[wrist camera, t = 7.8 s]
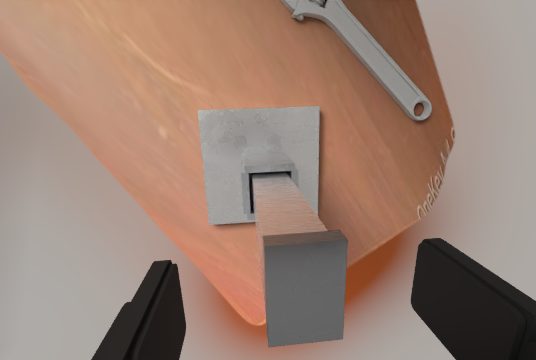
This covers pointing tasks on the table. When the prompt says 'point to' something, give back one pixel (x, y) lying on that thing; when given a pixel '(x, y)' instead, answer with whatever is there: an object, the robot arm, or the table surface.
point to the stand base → (256, 155)
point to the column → (297, 264)
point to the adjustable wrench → (364, 51)
